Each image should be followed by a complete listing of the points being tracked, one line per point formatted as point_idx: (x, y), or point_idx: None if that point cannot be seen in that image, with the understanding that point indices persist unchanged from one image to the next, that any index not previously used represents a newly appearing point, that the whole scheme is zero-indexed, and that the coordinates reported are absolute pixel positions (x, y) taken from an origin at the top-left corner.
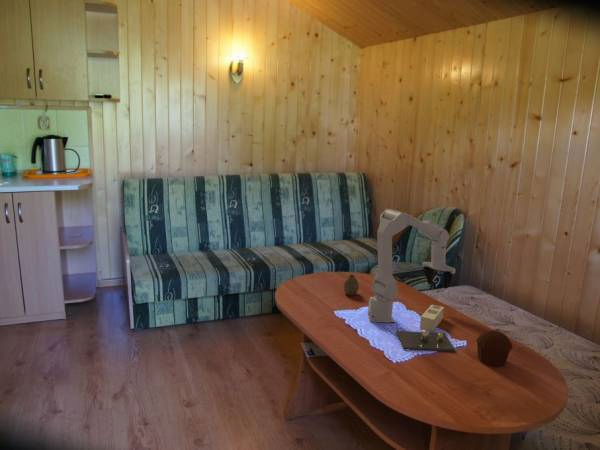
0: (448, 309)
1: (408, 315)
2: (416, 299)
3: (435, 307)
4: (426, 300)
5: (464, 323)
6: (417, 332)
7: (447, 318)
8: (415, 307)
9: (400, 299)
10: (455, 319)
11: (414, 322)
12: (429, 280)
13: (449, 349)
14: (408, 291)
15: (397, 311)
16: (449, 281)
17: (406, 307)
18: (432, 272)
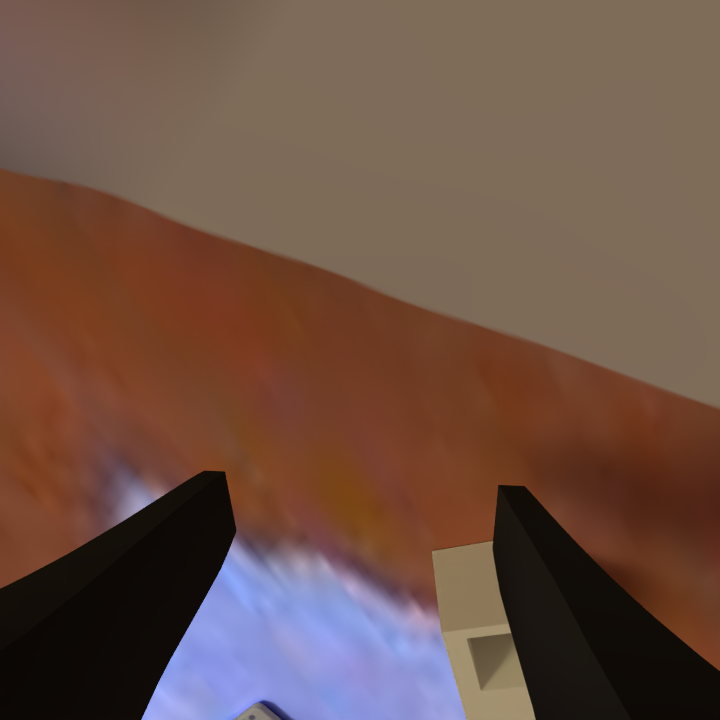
0: (465, 335)
1: (329, 635)
2: (174, 346)
3: (480, 622)
4: (233, 299)
5: (689, 498)
6: None
7: (544, 505)
8: (273, 493)
9: (113, 441)
10: (601, 479)
11: (416, 695)
12: (198, 589)
13: None
14: (15, 233)
15: (247, 628)
16: (596, 581)
17: (237, 536)
18: (54, 628)
